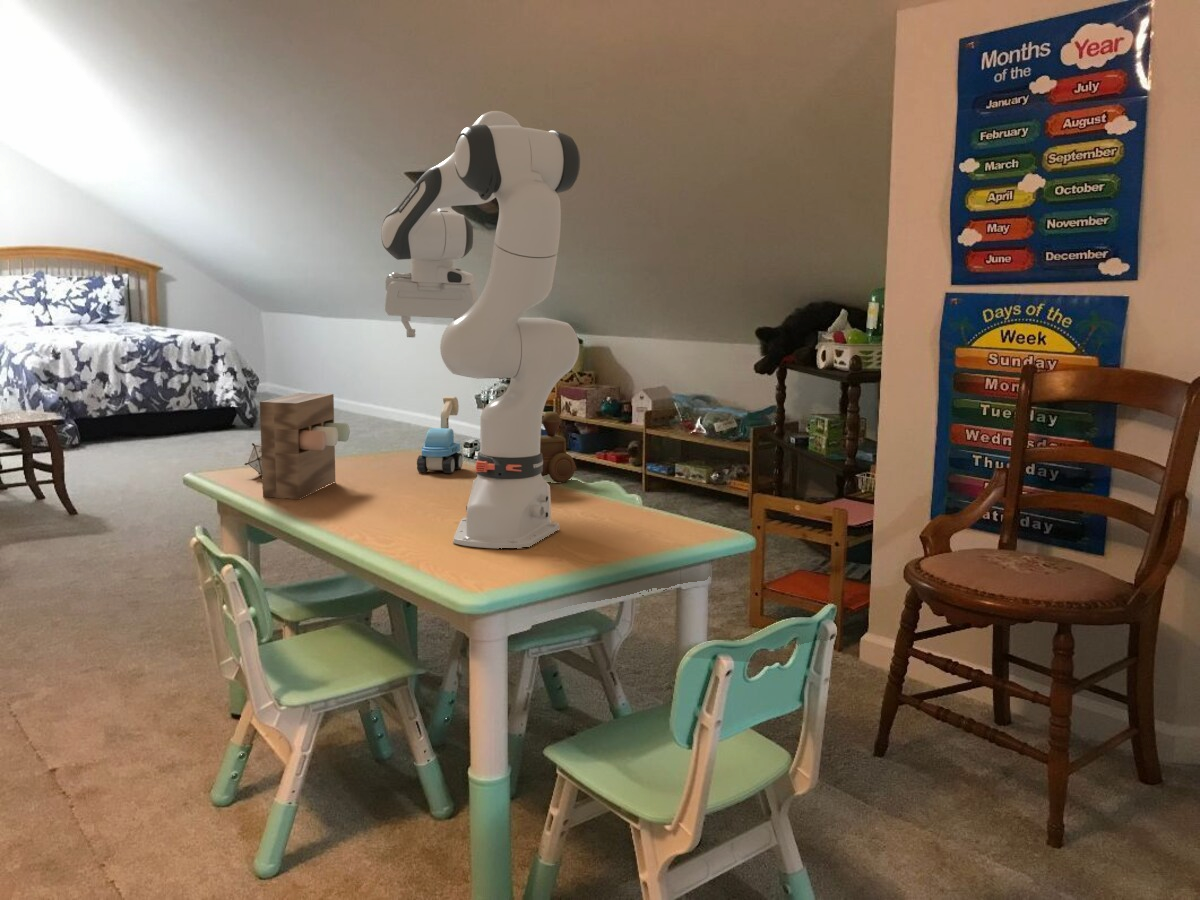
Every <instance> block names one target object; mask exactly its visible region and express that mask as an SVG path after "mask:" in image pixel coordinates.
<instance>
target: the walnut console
mask: <svg viewBox="0 0 1200 900" xmlns="http://www.w3.org/2000/svg"><path fill="white" fill-rule="evenodd" d="M334 397H335V396H334V394H333V393H313V392H312V393H309V392H297V393H292V394H289V395H283V396H279V397H275V398H271V399H265V400H263V401H259V415H260V416H259V419H260V422H259V423H260V445H261V452H262V479H261V480H262V481H261V482H262V497H263V498H268V497H275V498H274V499H285V498H289V500H300V498H301V499H303V498H305V497H307V496H306V495H308V494H310V493H312V494H314V493H316V492H317V491H316V490H318V489H320V488H322V487H325V486H326V485H328V484H331V483H333V482H335V483H336V449H335V448H336V445H335V446H325V448H324V450H303V449H299V434H298V430H308V431H311V426H319V427H324V424H323V422H325V423H335V405H334V404H335V403H334V402H335V401H334ZM331 485H332V484H331ZM325 488H326V487H325ZM315 491H316V492H315ZM318 491H319V490H318ZM313 492H314V493H313ZM310 495H311V494H310ZM304 496H305V497H304ZM308 496H309V495H308ZM302 497H303V498H302Z"/></svg>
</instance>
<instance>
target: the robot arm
mask: <svg viewBox="0 0 1200 900" xmlns="http://www.w3.org/2000/svg"><path fill="white" fill-rule="evenodd" d="M580 168H581V155H580V150H579V147H578V145H577V143H576V142H575V140H574V138H573V137H571V136H570V135H567V134H566V133H562V132H560V131H556V130H548V131H547V130H543V129H538V128H533V127H525V126H521V124H520V123H519V121H518V120H517V119H516V118H515V117H513V116H512V115H511V114H509V113H506V112H504V111H501V110H490V111H488V112H485V113H483V114H482V115H481V116H480V117H478V118H477V119H476V120H475V121H474V122H473V124H471V126H467V127H465V128H463V129H462V130H461V132H460V133H459V135H458V137H457V139H456V141H455V146H454V152H453V153H452V154H451V155H450V156H448V157H447V158H446V159H444V160H443V161H442V162H439V163H438V164H437V165H435V166H433V167H430V168H429V169H427V170H425V172H424V173H423V174H422V175H421V176H420V177H419V179H418V180H417V181H416V183H415V184H414V185H413V186H412V187H411V189H410V190H409V192H408V193H407V194H406V195H405V196H404V197H403V199H402V200H401V202H400V203H399V205H397V206H396V207H395V208H393V209H392V210H391V211H390V212H389V213H387V215H386V216H385V218H384V219H383V222H382V224H381V226H382V227H381V243H382V246H383V248H384V249H385V250H386V252H388V254H390V255H391V256H392V257H393V258H395V260H397V261H400V260H410V262H411V264H410V265H411V269H410V271H411V272H409V273H407V272H405V273H399V272H392V273H391V274H389V275H388V276H386V279H385V290H386V296H385V304H384V307H385V309H384V311H385V313H386V314H387V316H391V317H392V316H395V317H401V323H402V325H403V327H404V329H405V330H406V338H416V328H412V326H411V324H410V322H411V318H412V317H416V318H417V317H419V318H440V319H441V318H442V319H453V321H451V322H450V323H449V324H448V325H447V327H446V328H445V330H444V331H443V333H442V335H441V339H440V345H439V346H440V347H439V349H440V355H441V359H442V362H443V364H444V365H445V367H446V368H447V369H448V370H449V372H450V373H452V374H453V375H457V376H461V377H466V378H472V379H479V380H480V379H510V382H509V385H508V387H507V389H506V390H505V392H504V393H503V394H502V395H501V396H499V397H496V398H495V399H493V400H491V401H490V402H489V403H488V404H486V405H485V406H484V408H483V409H482V412H481V413H480V416H479V417H480V419H479V422H480V423H479V425H480V428H479V429H480V434H479V435H480V440H479V441H480V442H479V443H480V444H479V445H480V447H479V448H480V449H479V452H478V454H477V459H476V461H475V472H476V474H477V476H476V478H474V480H472V486H471V490H470V495H469V498H468V502H467V505H466V507H465V508H466V509H465V511H466V517H463V518H461V519H460V522H459V524H458V526H457V528H456V530H455V533H454V536H453V539H452V540H453V541H452V543H453V544H455V545H460V546H464V547H472V548H485V549H499V548H501V550H503V549H502V548H517V549H522V548H521V547H529V546H531V545H533V544H535V543H536V542H538V543H540V542H541V541H543V540H545V539H546V538H545V537H547V536H548V535H550V534H552V533H553V532H555V531H557V530H558V529H560V524H559V523H558V522H555V521H552V503H551V502H552V501H551V485H550V484H549V483H548V482H547V481H546V479H544V476H542V475H541V472H542V471H543V459H542V453H541V452H540V439H541V435H542V424H543V423H542V418H543V414H544V410H545V405H546V402H547V400H548V398H549V395H550V394H551V392H552V390H553V389H554V387H556V384H557V383H558V382H559V381H560V380H561V379H562V378H563V377H564V376H566V375H567V374H568V373H570V372H571V370H572V369H573V368H574V366H575V364H576V363H577V361H578V358H579V355H580V341H579V338H578V335H577V333H576V331H575V329H574V328H573V327H572V325H570V323H568V322H565V321H561V320H558V319H552V318H547V317H522V316H523V314H525V313H526V312H527V311H528V310H529V309H531V308H533V307H535V306H537V305H539V304H540V303H542V302H543V301H545V300H546V299H547V297H549V295H550V293H551V291H552V289H553V284H554V277H555V272H556V265H557V258H558V253H559V248H560V247H559V246H560V239H561V238H560V237H561V227H562V226H561V224H562V222H561V221H562V220H561V219H562V214H561V213H562V209H561V200H560V199H561V198H560V197H559V194H560V193H565V192H567V191H569V190H571V189H572V188H573V186H574V185H575V183H576V181H577V180H578V177H579V175H580ZM495 198H496V200H497V203H498V208H499V209H498V219H497V223H496V228H495V229H496V230H495V234H494V241H493V248H492V249H493V250H492V255H491V261H490V266H489V271H488V275H487V276H488V277H487V279H486V283H485V285H484V287H483V290H482V291H481V294H480V295H478V291H477V288H476V287H475V286H474V285H473V283H474V280H475V276H474V274H473V273H472V272H468V271H466V270H463V269H461V268H457V267H454V265H453V263H454V262H453V260H458V259H463V258H464V257H466V256H467V255H468V254H469V253H470V252H471V250H472V249H473V244H474V228H473V225H472V223H471V221H470V220H469V219H468V218H467V216H465V215H464V214H461V213H458V212H457V211H455V210H454V209H453V208H452V207H456V206H458V207H459V206H474V205H475V206H476V205H483V204H486V203H490V202H491V201H492V200H495ZM478 296H479V297H478ZM558 531H559V530H558ZM558 531H557V532H558ZM555 533H556V532H555ZM553 534H554V533H553ZM553 534H552V535H553ZM550 536H551V535H550ZM548 537H549V536H548ZM548 537H547V538H548ZM544 538H545V539H544ZM542 539H543V540H542ZM540 540H541V541H540ZM539 541H540V542H539ZM536 544H537V543H536ZM536 544H535V545H536ZM533 546H534V545H533ZM531 547H532V546H531ZM529 548H530V547H529Z"/></svg>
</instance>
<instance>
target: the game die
mask: <svg viewBox="0 0 1200 900" xmlns="http://www.w3.org/2000/svg"><path fill="white" fill-rule="evenodd" d="M251 445H252V446H253V448H252V451H251V453H250V455H249V459H248V461H247V462H245V463H244V464H243V465H245V466H248V465H249V466H250V467H251V468H252V469H253V470H255V472H257V474H258V475H260V479H261V478H262V452H261V444H257V445H256V444H255V443H253V442H252V443H251Z"/></svg>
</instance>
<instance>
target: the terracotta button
mask: <svg viewBox="0 0 1200 900" xmlns="http://www.w3.org/2000/svg"><path fill="white" fill-rule="evenodd" d="M298 434H299V449H303V450H324V448H325V446H326V434H325V432H324V431H308V430H298Z"/></svg>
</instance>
